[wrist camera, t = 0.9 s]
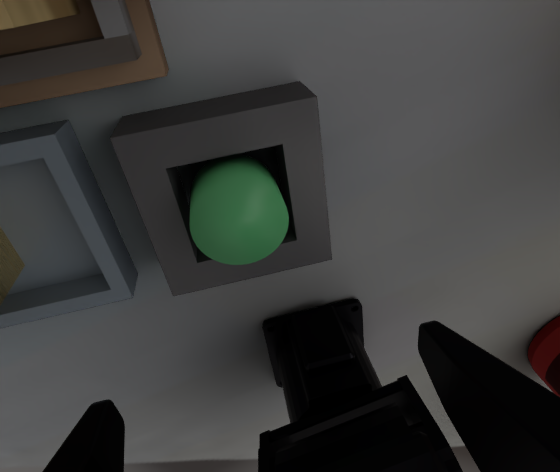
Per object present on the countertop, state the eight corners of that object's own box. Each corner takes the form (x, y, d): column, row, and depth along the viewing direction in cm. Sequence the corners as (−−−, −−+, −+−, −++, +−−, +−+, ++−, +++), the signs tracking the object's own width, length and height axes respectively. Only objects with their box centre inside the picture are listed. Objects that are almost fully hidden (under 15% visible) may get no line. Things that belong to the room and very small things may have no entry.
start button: (283, 222, 19) (294, 253, 17) (203, 240, 19) (204, 273, 17) (269, 145, 17) (281, 169, 15) (179, 164, 17) (176, 191, 15)
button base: (316, 228, 22) (332, 259, 20) (175, 260, 22) (173, 296, 19) (299, 81, 18) (316, 96, 15) (122, 116, 17) (109, 138, 15)
